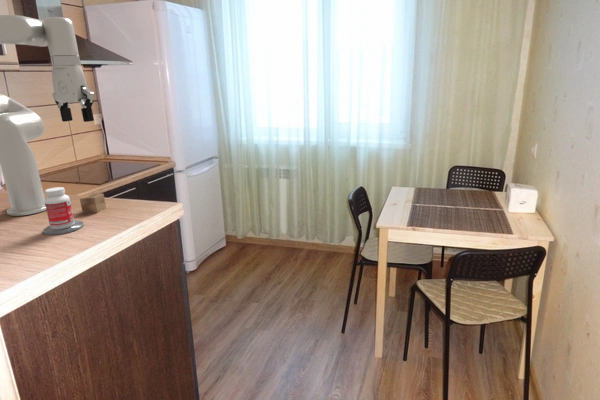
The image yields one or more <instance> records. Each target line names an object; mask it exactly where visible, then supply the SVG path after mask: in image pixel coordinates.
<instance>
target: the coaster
mask: <svg viewBox="0 0 600 400" xmlns="http://www.w3.org/2000/svg"><path fill="white" fill-rule="evenodd" d="M74 221H75V224H74V225H73V226H71V227H69V228H65V229H59V230H54V229H52V228H51V227H50V225H47V226H46V227H44V228H43V230H42V232H43V234H44V235H46V236H59V235H65V234H69V233H73V232H75V231H79V230H80V229H81V228H83V227H84V226H85V225H84V222H83V221H81V220H75V219H74Z"/></svg>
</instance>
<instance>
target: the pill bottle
mask: <svg viewBox="0 0 600 400" xmlns="http://www.w3.org/2000/svg"><path fill="white" fill-rule="evenodd" d="M65 193H66V189H65V187H62V186H60V187H59V186H58V187H50V188H47V189H45V190H44V195H45V197H46V198H45V201H44V202H45V207H46V210H45V211H46V214H47V218H48V219H47V220H48V223H49V226H50V227H51V228H52V229H54V230H59V229H65V228H69V227H71V226H73V225H74V224H75V221H74V220H75V217H74V213H73V208H72V203H71V198H70V196H69V195H67V194H65Z"/></svg>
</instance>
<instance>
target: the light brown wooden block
mask: <svg viewBox="0 0 600 400" xmlns="http://www.w3.org/2000/svg"><path fill="white" fill-rule="evenodd" d="M79 202H80V206H81V211H82V214H98V213H100V212H102V211H104V210H105V209H106V208H107V205H106V199H105V195H104V193H87V194H86V195H83V196H82V197H80V198H79ZM101 210H102V211H101Z"/></svg>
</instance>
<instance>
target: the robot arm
mask: <svg viewBox="0 0 600 400" xmlns="http://www.w3.org/2000/svg"><path fill="white" fill-rule="evenodd" d="M76 37H77V36H76V31H75V28H74V23H73V21H72V20H71V19H70V18H68V17H62V16H48V17H45V18H44V20H43V19H39V18H38V19H37V18H33V17H29V16H25V15H19V14H18V15H17V14H0V45H25V46H33V47H41V48H42V47H47V48H48V52H49V56H50V62H51V66H52V68H51V79H52V88H53V92H52V98H53V99H54V102H55V104H56V105H57V108H58V110H59V112H60V117H61V121H62V122H64V123H65V122H71V121H73V115H72V110H71V107H69V106H70V104H71V103H77V102H78V103H79V105H80V106H81V107H82V108H81V109H80V111H81V115H82V121H83V122H85V123H88V122H89V123H90V122H94V120H95V119H94V113H93V107H94V106H93V105H94V101H95V100H94V98H95V92H94V91H92V90H90V89H89V87H88V83H87V79H86V76H85V73H84V71H83V67H82V64H81V59H80V53H79V49H78V41H77V38H76ZM44 132H45V123H44V121H43V119H42V117H41V116H40V115H38V114H37V113H36V112H35V111H34V110H32V109H30V108H28V107H27V106H25V105H23V104H21V103H20V102H18V101H16V100H15V99H13V98H12V97H9V96H8V95H6V94H3V93H0V169H1V172H2V173H1V174H2V177H3V181H4V184H5V187H6V191H7V195H8V199H7V203H9V204H10V208H8V209H7V210H6V214H7V215H8V216H12V217H13V216H14V217H15V216H16V217H18V216H19V217H20V216H28V215H34V214H38V213H42V212H45V211H46V207H45V202H44V201H45V199H46V198H45V197H46V196H45V192H44V189H43V185H42V180H41V176H40V173H39V169H38V163H37V162H36V161H37V160H36V156H35V154H34V152H33V150H32V148H31V147H30V145H29V143H28V142H29V141H32V140H35V139H38V138H39V137H42V135H43V134H44ZM27 141H28V142H27Z"/></svg>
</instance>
